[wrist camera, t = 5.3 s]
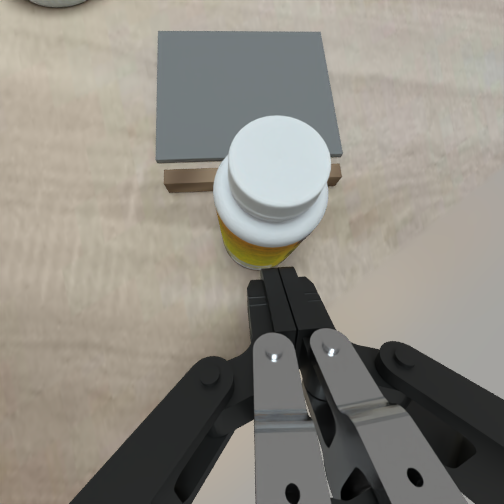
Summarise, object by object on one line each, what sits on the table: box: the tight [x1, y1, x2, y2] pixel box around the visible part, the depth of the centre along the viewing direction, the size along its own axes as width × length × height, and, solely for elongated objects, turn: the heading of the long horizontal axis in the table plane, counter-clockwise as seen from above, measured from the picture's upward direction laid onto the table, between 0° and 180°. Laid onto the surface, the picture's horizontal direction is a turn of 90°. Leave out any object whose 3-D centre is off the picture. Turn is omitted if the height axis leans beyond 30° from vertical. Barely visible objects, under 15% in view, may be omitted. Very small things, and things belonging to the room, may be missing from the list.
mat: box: [156, 31, 343, 163], centre depth 21 cm, size 16×14×1 cm
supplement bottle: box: [213, 115, 331, 270], centre depth 14 cm, size 6×6×10 cm
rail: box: [164, 164, 342, 193], centre depth 19 cm, size 14×1×1 cm, turn 94°
